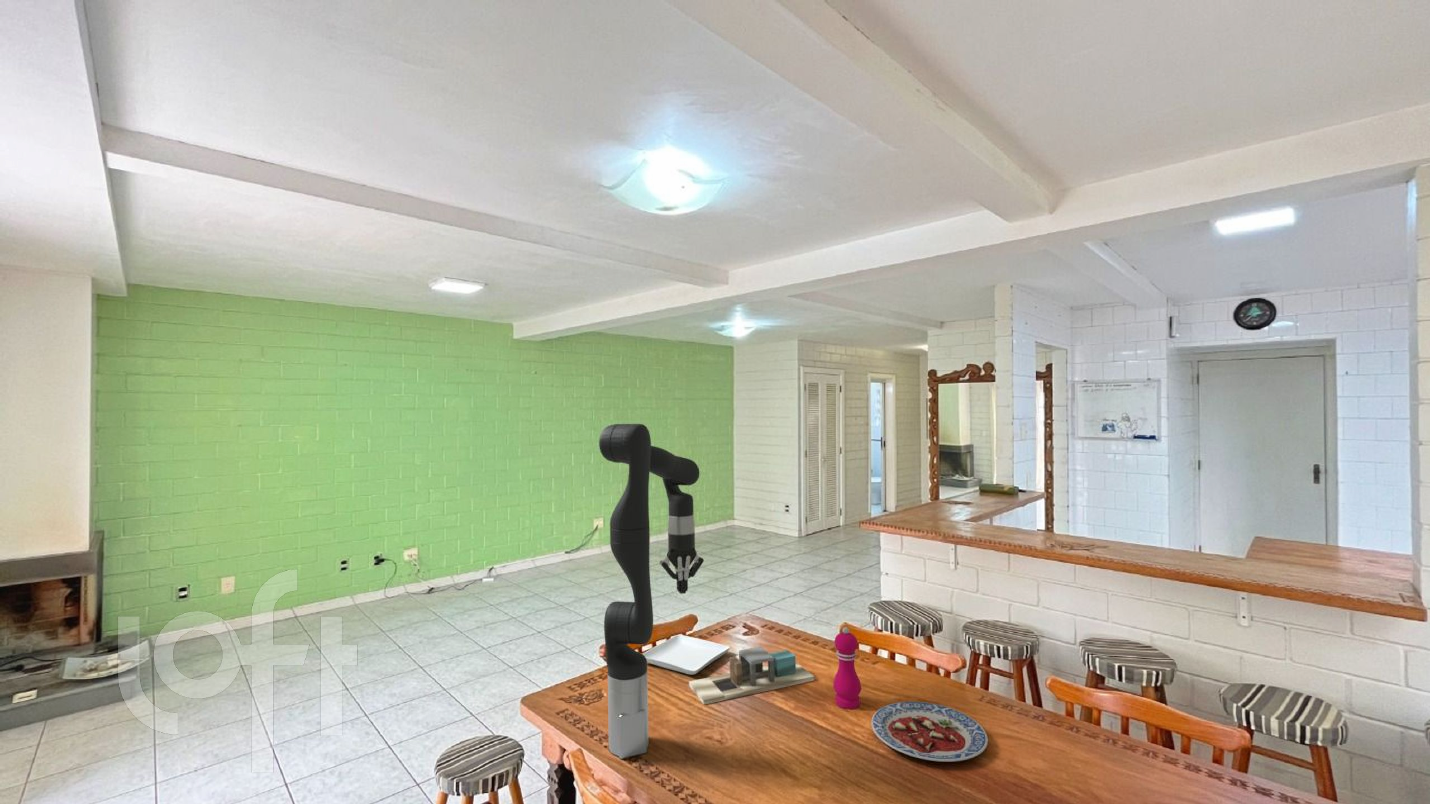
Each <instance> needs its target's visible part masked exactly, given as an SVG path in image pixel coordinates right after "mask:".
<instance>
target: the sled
mask: <svg viewBox="0 0 1430 804" xmlns="http://www.w3.org/2000/svg"><path fill="white" fill-rule="evenodd" d="M768 653H769V652H768ZM769 654H770V655H771V656H773V657H774V674H775V675H776V676H777V677H780V676H785V675H789V674H794V673H796V663H797V661H796V660H797V659H796V655H795V654H794V653H792V652H791V651H790V650H789V649H784V650H780V651H779V650H778V651H775V652H770V653H769ZM729 673H730V679H731V680H732V681H733V682H734V683H735V684H736V685H742V680H746V679H750V674H748V675H743V676H742V663H741V662H740V661H739V658H738V657H736V656H735V655H734V656H730V657H729ZM755 674H756V677H761V676H765V675H768V671H763V672H758V673H755Z"/></svg>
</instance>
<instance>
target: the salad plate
mask: <svg viewBox="0 0 1430 804" xmlns="http://www.w3.org/2000/svg"><path fill="white" fill-rule="evenodd" d="M730 649H731V646H730V645H727V644H722V643H718V642H714V641H709V640H706V639H703V638H702V639H701V638H697V637H693V636H689V635H688V636H687V635H685V634H677V635H674V636H672V637H670V638H669V639H667V640H665V641H663V642H662V643H659V644H658V645H656V646H653V647H652V648H650V649H649V650H647V651H645V652H643V653H642V654H643V655H644V656H645V657H646V659H647V664H652V665H655V666H658V667H660V668H664V669H668V670H672V671H675V672H678V673H683V674H687V675H691V676H693V675H696V674H698V673H699V672H700V671H702V670H704V668H706V667H707V666H709V665H710V664H711V663H713V662H715V661H716V660H718V659H719V658H720V657H723V656H724V655H726V653H728V652H729V651H730Z"/></svg>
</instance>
